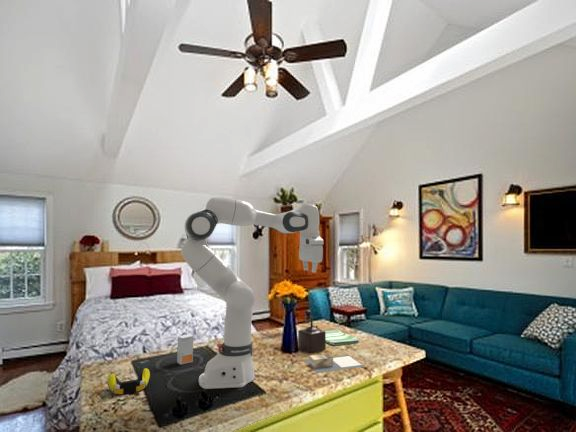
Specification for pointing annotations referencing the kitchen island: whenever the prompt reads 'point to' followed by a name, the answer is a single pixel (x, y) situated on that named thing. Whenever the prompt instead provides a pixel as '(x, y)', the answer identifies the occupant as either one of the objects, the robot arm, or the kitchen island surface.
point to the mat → (338, 364)
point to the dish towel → (339, 338)
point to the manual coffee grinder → (311, 337)
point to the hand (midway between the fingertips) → (310, 271)
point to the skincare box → (185, 349)
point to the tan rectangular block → (321, 360)
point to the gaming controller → (128, 383)
